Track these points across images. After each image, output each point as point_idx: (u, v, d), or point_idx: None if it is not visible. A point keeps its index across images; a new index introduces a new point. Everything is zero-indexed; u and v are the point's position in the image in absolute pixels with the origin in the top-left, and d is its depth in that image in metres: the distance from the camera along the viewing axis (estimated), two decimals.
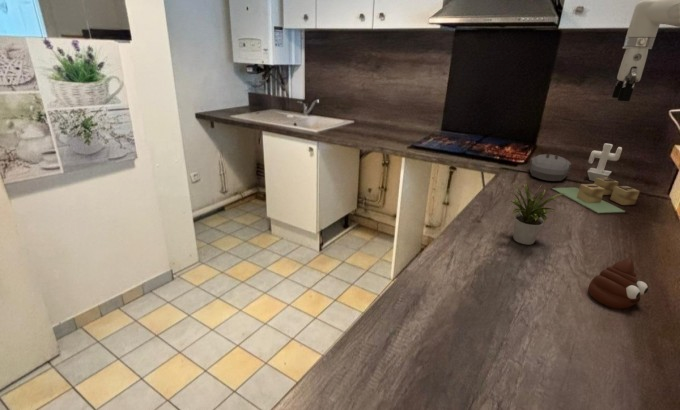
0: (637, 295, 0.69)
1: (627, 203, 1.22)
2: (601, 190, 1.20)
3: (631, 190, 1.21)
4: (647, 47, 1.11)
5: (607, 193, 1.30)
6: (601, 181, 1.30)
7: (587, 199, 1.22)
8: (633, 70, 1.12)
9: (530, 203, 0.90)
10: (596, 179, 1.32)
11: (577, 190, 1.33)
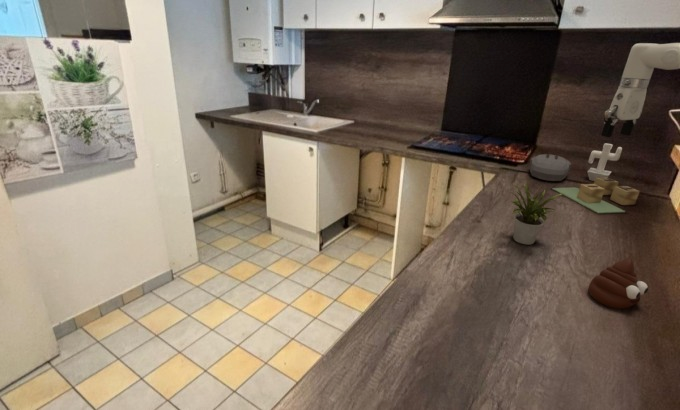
0: (637, 295, 0.69)
1: (627, 203, 1.22)
2: (601, 190, 1.20)
3: (631, 190, 1.21)
4: (632, 88, 1.16)
5: (607, 193, 1.30)
6: (601, 181, 1.30)
7: (587, 199, 1.22)
8: (611, 108, 1.19)
9: (530, 203, 0.90)
10: (596, 179, 1.32)
11: (577, 190, 1.33)
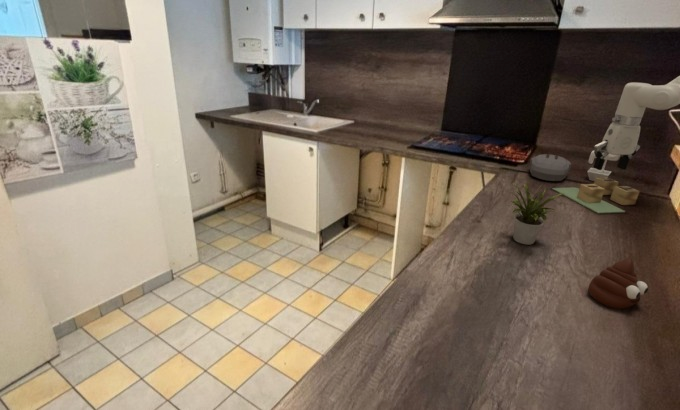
0: (637, 295, 0.69)
1: (627, 203, 1.22)
2: (601, 190, 1.20)
3: (631, 190, 1.21)
4: (622, 125, 1.20)
5: (607, 193, 1.30)
6: (601, 181, 1.30)
7: (587, 199, 1.22)
8: (601, 142, 1.24)
9: (530, 203, 0.90)
10: (596, 179, 1.32)
11: (577, 190, 1.33)
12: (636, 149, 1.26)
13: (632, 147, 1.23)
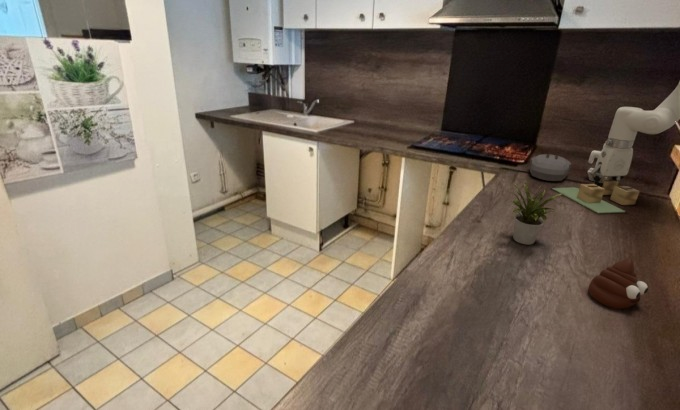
0: (637, 295, 0.69)
1: (627, 203, 1.22)
2: (601, 190, 1.20)
3: (631, 190, 1.21)
4: (615, 148, 1.23)
5: (607, 193, 1.30)
6: None
7: (587, 199, 1.22)
8: (595, 167, 1.28)
9: (530, 203, 0.90)
10: None
11: (577, 190, 1.33)
12: None
13: (625, 169, 1.26)
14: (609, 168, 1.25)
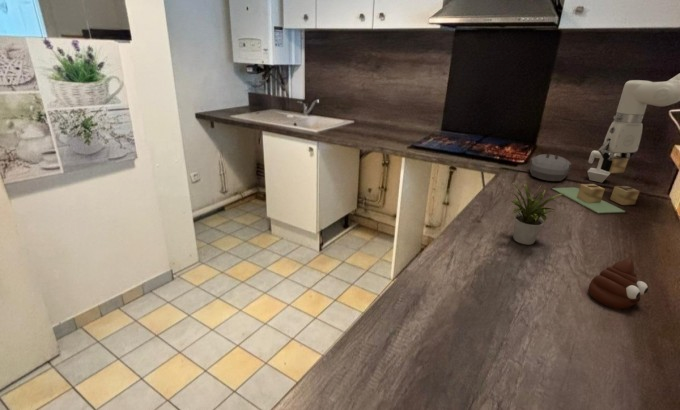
0: (637, 295, 0.69)
1: (627, 203, 1.22)
2: (601, 190, 1.20)
3: (631, 190, 1.21)
4: (624, 122, 1.20)
5: (617, 171, 1.26)
6: None
7: (587, 199, 1.22)
8: (604, 144, 1.24)
9: (530, 203, 0.90)
10: None
11: (577, 190, 1.33)
12: None
13: (635, 145, 1.23)
14: (618, 144, 1.22)
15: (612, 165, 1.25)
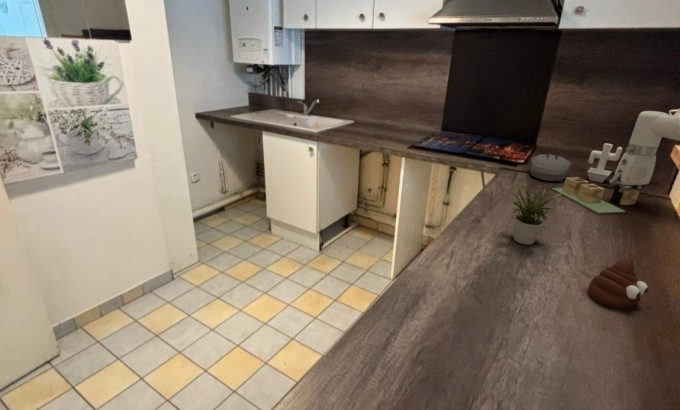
0: (637, 295, 0.69)
1: (627, 203, 1.22)
2: (601, 190, 1.20)
3: (631, 190, 1.21)
4: (637, 155, 1.15)
5: (577, 193, 1.28)
6: (571, 181, 1.28)
7: (587, 199, 1.22)
8: (615, 176, 1.20)
9: (530, 203, 0.90)
10: (567, 179, 1.30)
11: None
12: None
13: (647, 177, 1.18)
14: (630, 176, 1.17)
15: (573, 187, 1.27)
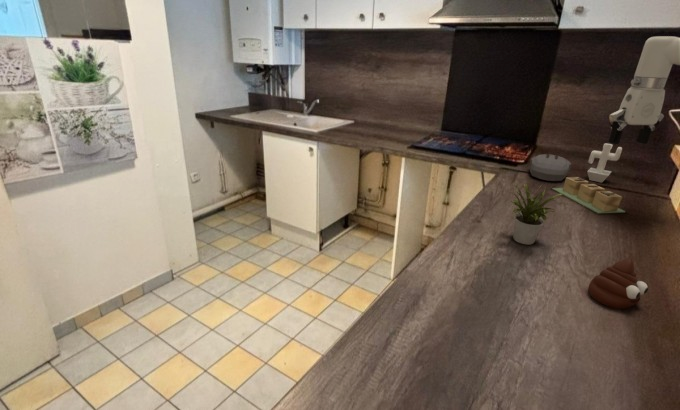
0: (637, 295, 0.69)
1: (609, 209, 1.15)
2: (601, 190, 1.20)
3: (613, 195, 1.14)
4: (643, 88, 1.00)
5: (577, 193, 1.28)
6: (571, 181, 1.28)
7: (587, 199, 1.22)
8: (618, 111, 1.05)
9: (530, 203, 0.90)
10: (567, 179, 1.30)
11: None
12: (659, 119, 1.07)
13: (655, 115, 1.04)
14: (635, 114, 1.03)
15: (573, 187, 1.27)
